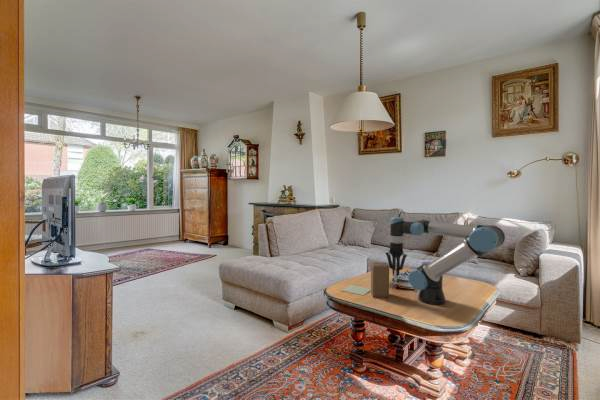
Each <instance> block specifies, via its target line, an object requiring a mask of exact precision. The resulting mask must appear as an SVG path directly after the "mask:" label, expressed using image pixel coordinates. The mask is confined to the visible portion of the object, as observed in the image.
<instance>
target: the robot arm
mask: <svg viewBox="0 0 600 400" xmlns="http://www.w3.org/2000/svg"><path fill="white" fill-rule="evenodd" d="M389 226H390V227H389V228H390V233H389V236H390V237H389V238H390V239H389V242H390V243H389V250H388V251H386V252H385V255H386V257H387V262H388V263H387V264H388V266H389V269H392V275H393V281H394V282H396V281H398V280H399V279H398V278H399V276H400V271H402V270H403V268H404V264H405V261H406V258H407V257H408V254H406V253H404V249H403V248H404V243H403V242H404V235H411V236H422V234H431V235H437V236H443V237H450V238H451V237H452V238H458V239H463V242H461V243H459V244H458V245H457V246H455V247H453V248H452V249H450V250H448V251H447V252H445V253H444V254H442V255H441V256H438V258H436V259H434V260H433V261H431V262H430V261H422V262H421V265H419V266H418V267H416V268H413V269H412V270H411V271H409V273H408V275H407V281H408V283H409V284H410V286H411V288H413V289H415V290H417V291H419V292H418V296H417V298H418V300H419V301H420V302H422V303H424V304H428V305H436V306H437V305H444V304H446V297H445V293H444V290H443V275H445V274H447V273H449V272H450V271H452V270H453V269H455V268H457V267H459V266H460V265H462V264H464V263H465V262H467V261H469V260H470V259H472V258H474V257H482V256H484V255H485V254H488V253H489V252H491V251H493V250H494V249H497V248H499V247H501V246H502V245H503V244H504V242H505V239H506V234H505V232H504V231H503V229H502V228H501V227H499V226H496V225H492V224H491V225H490V224H487V225H486V224H478V225H467V224H458V223H449V222H440V221H430V220H428V219H421V220H416V221H405V220H404V217H402V216H398V217H397V216H394V217H393V216H392V217H391V218H390V223H389ZM401 257H402V258H401Z"/></svg>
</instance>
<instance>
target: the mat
mask: <svg viewBox="0 0 600 400" xmlns="http://www.w3.org/2000/svg"><path fill="white" fill-rule="evenodd" d="M341 292H346V293H350V294H354V295H361V296H365V295H366V294H368V293H370V292H371V288H368V287H363V286H358V285H355V284H354V285H353V284H350V285H348V286H345V287H344V288H342V289H341Z"/></svg>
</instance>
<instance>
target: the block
mask: <svg viewBox="0 0 600 400" xmlns="http://www.w3.org/2000/svg"><path fill="white" fill-rule="evenodd" d="M370 289H371V291H370V293H371V296H372V297H373V298H386V299H387V298H389V296H390V267H389V264H388V263H387V262H377V261H376V262H375V261H374V262H371V264H370Z"/></svg>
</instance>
